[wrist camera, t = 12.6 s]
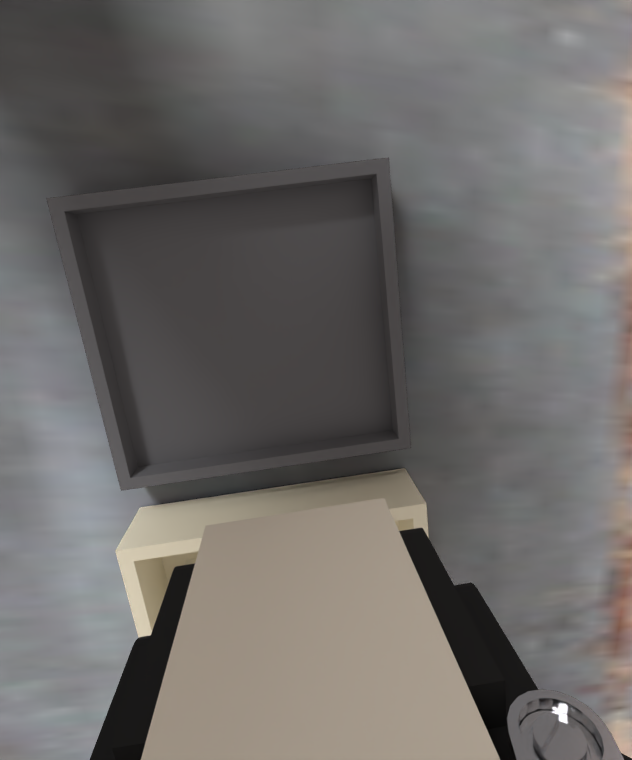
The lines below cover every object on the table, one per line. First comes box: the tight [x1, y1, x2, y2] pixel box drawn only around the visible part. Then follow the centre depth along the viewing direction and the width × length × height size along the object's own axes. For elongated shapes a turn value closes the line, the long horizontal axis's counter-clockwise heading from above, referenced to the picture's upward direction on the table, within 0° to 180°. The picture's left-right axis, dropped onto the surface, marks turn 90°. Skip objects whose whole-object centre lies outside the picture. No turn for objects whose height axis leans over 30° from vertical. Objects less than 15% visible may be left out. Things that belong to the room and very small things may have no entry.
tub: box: [116, 468, 429, 637], centre depth 26 cm, size 11×15×4 cm
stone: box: [141, 498, 500, 760], centre depth 8 cm, size 4×4×6 cm
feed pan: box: [46, 158, 411, 491], centre depth 23 cm, size 14×15×2 cm
